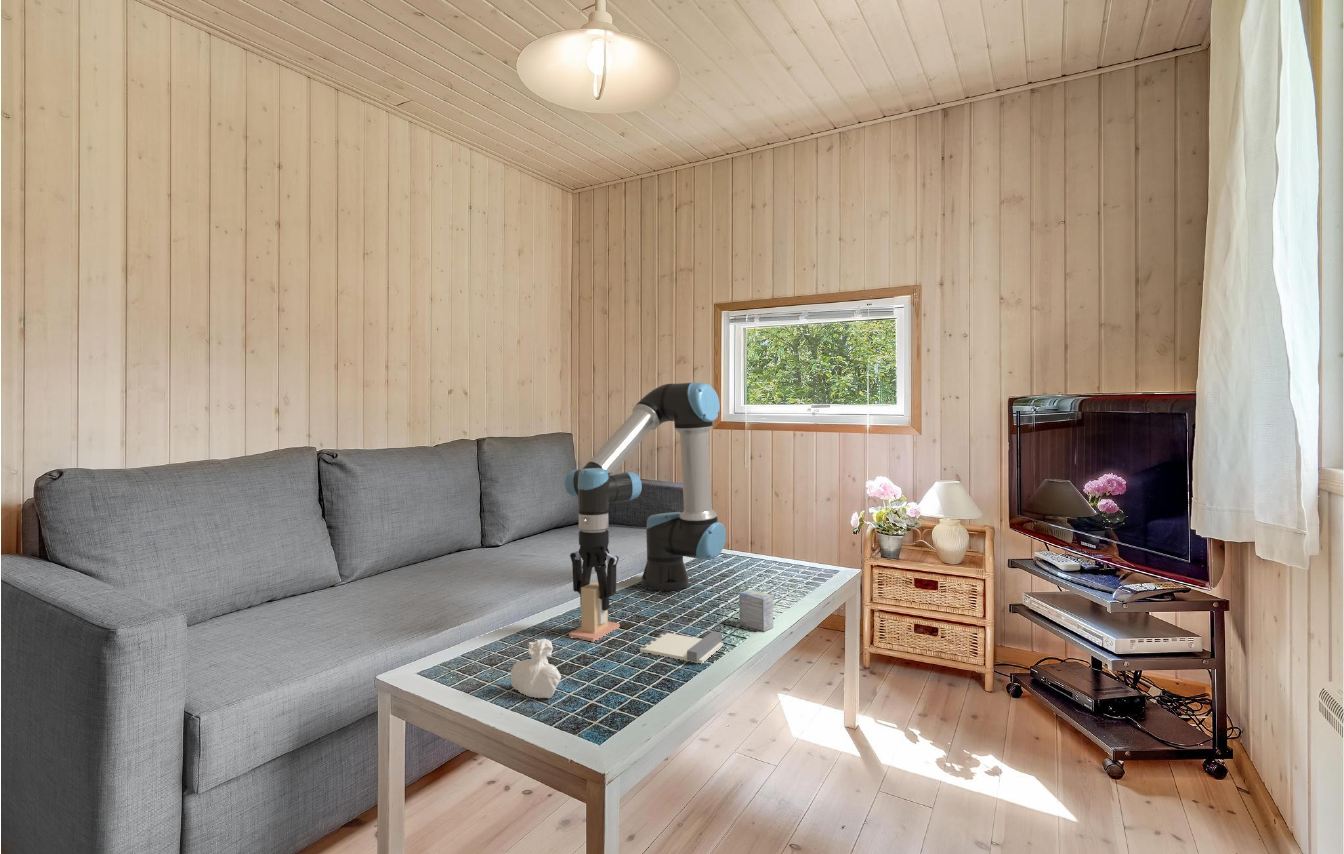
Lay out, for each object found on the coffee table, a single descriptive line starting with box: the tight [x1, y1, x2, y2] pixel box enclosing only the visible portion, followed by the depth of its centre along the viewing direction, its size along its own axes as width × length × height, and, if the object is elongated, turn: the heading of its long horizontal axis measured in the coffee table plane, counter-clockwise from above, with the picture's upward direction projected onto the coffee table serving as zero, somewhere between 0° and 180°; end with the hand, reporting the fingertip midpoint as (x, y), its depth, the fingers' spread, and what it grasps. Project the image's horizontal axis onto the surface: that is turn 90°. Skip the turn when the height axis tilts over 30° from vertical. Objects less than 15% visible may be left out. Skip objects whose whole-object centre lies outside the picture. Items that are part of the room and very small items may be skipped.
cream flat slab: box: [639, 630, 724, 665], centre depth 152 cm, size 16×14×3 cm
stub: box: [568, 581, 621, 643], centre depth 163 cm, size 7×12×12 cm, turn 152°
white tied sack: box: [509, 638, 562, 699], centre depth 130 cm, size 12×8×11 cm
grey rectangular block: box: [738, 589, 774, 632], centre depth 167 cm, size 8×4×9 cm, turn 47°
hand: (594, 620), depth 163 cm, fingers closed on stub, 4 cm apart
